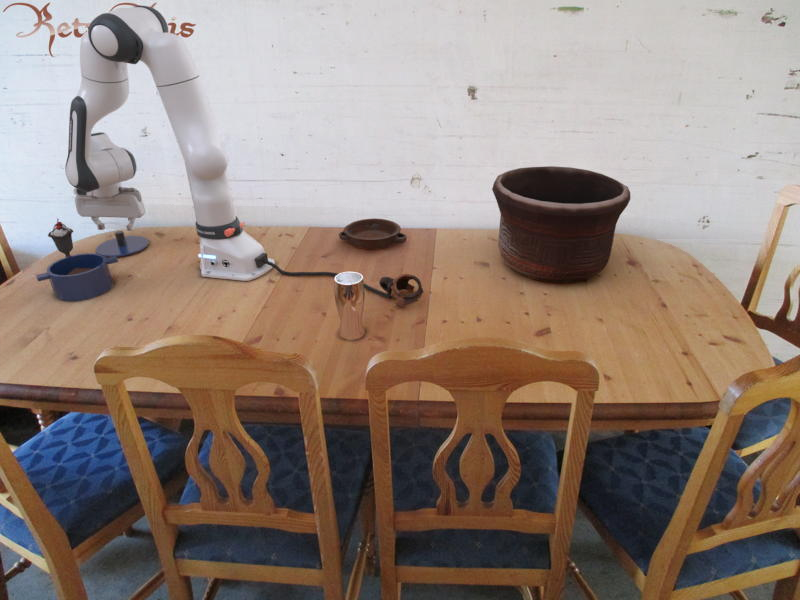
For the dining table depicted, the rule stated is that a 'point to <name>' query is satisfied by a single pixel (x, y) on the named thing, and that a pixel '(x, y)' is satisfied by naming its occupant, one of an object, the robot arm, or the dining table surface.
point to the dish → (373, 233)
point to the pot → (80, 276)
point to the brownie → (79, 270)
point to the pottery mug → (402, 288)
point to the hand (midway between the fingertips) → (116, 229)
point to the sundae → (62, 238)
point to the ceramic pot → (558, 221)
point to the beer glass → (350, 304)
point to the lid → (122, 245)
